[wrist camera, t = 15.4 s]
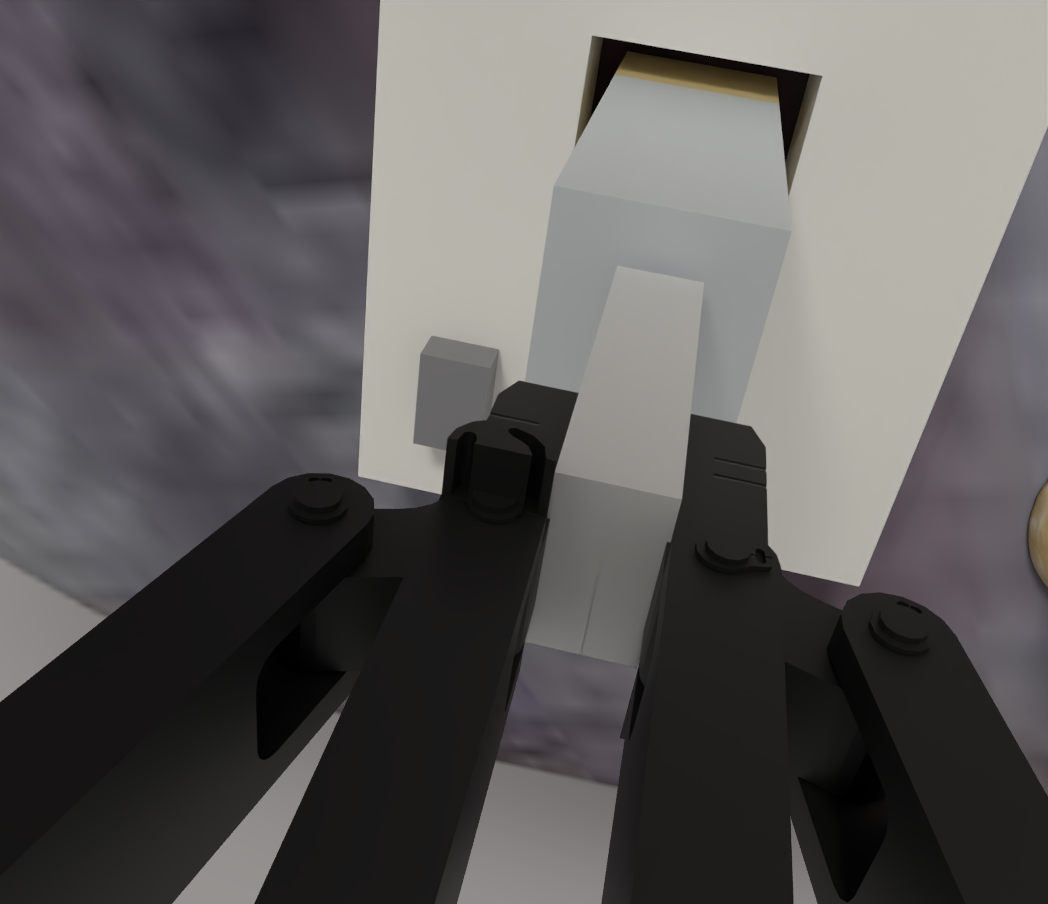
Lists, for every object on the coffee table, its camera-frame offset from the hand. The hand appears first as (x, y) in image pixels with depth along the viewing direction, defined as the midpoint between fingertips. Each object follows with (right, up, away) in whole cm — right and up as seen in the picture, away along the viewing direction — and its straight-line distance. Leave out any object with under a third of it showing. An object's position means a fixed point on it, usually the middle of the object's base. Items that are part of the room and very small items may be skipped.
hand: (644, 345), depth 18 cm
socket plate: (+2, +6, +10) cm, 12 cm away
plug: (+2, +6, +10) cm, 12 cm away
